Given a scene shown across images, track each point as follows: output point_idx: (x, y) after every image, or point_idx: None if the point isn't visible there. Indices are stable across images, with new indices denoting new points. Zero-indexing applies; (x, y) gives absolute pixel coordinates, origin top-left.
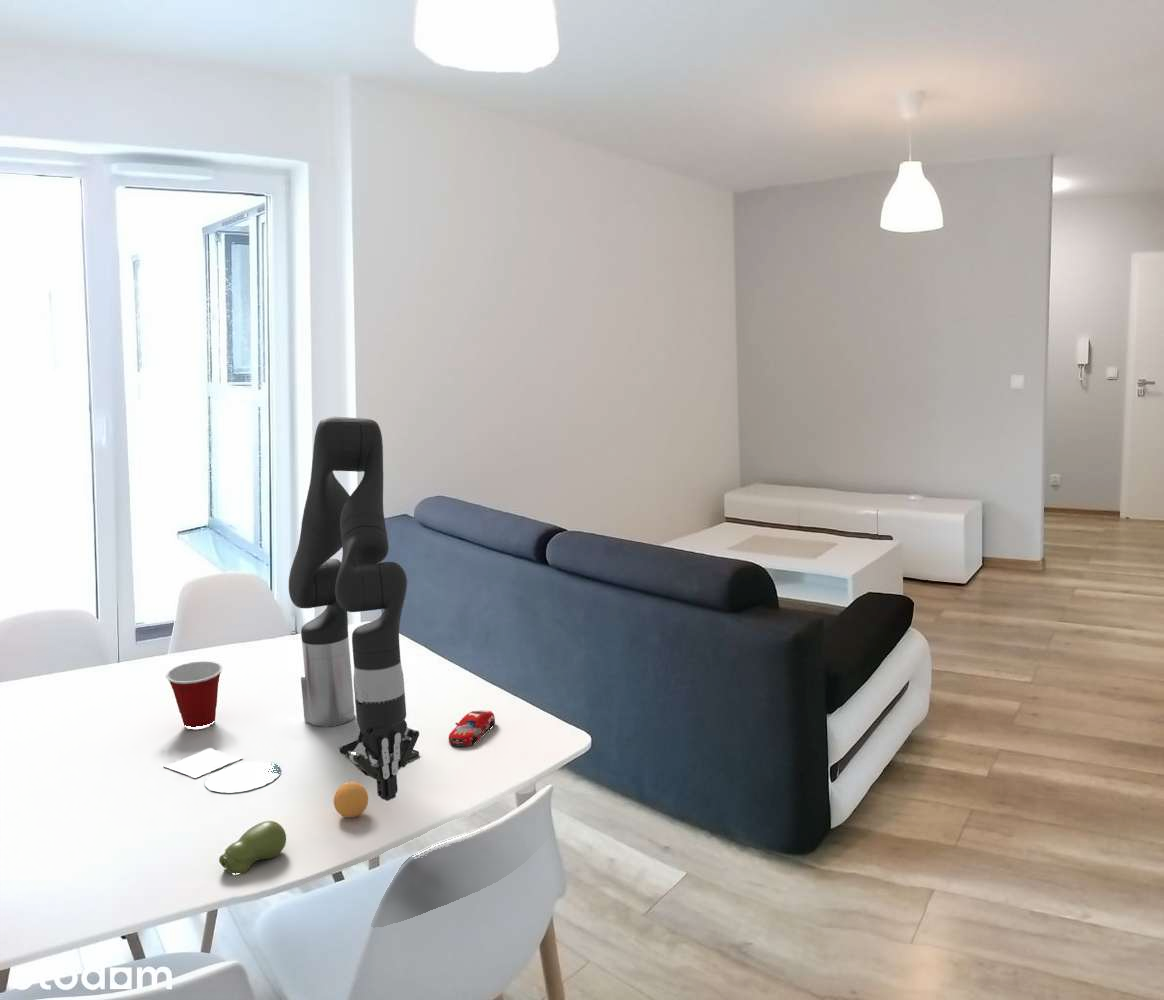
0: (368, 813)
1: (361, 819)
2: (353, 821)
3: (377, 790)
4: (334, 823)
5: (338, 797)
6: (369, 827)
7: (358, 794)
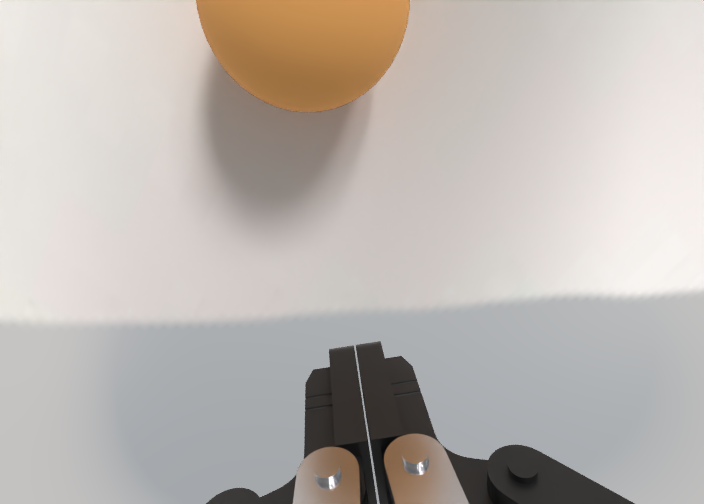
0: None
1: None
2: None
3: (305, 400)
4: None
5: (203, 14)
6: (307, 183)
7: (314, 99)
